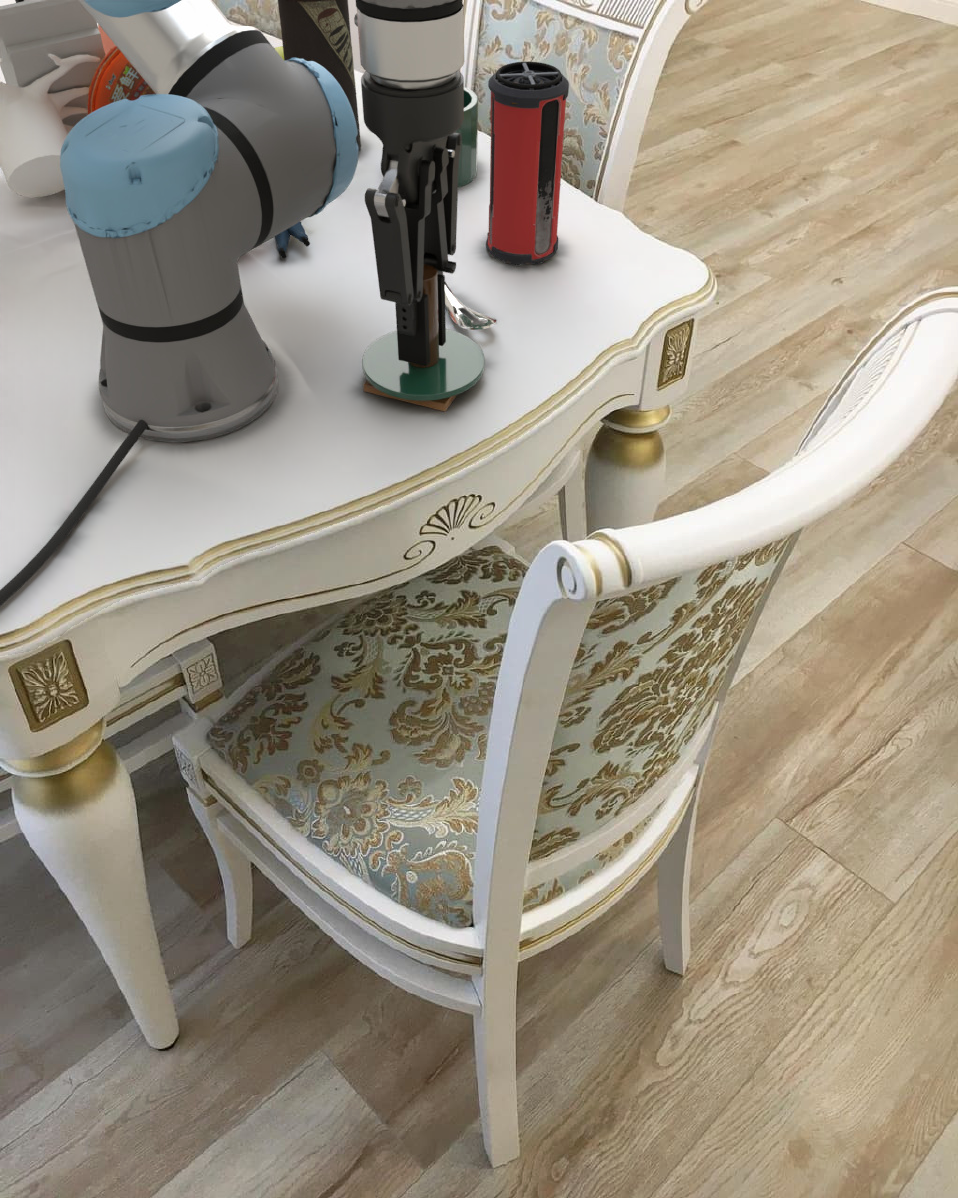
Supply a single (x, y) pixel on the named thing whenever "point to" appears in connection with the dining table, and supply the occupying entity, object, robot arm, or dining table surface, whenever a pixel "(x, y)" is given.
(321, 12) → the container
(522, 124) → the speaker
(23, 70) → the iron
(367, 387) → the plate
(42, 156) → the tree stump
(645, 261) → the dining table surface
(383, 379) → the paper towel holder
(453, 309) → the silver spoon
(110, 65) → the food container
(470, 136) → the green round cylinder
